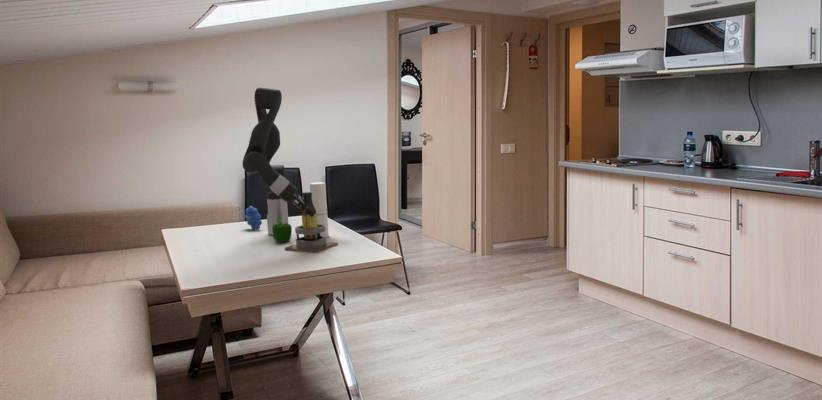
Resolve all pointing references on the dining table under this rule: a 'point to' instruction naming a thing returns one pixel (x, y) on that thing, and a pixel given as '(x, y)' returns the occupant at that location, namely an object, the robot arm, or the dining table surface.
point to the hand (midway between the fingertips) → (313, 214)
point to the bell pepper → (282, 232)
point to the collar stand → (311, 240)
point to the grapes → (253, 217)
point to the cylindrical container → (320, 204)
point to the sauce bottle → (307, 220)
